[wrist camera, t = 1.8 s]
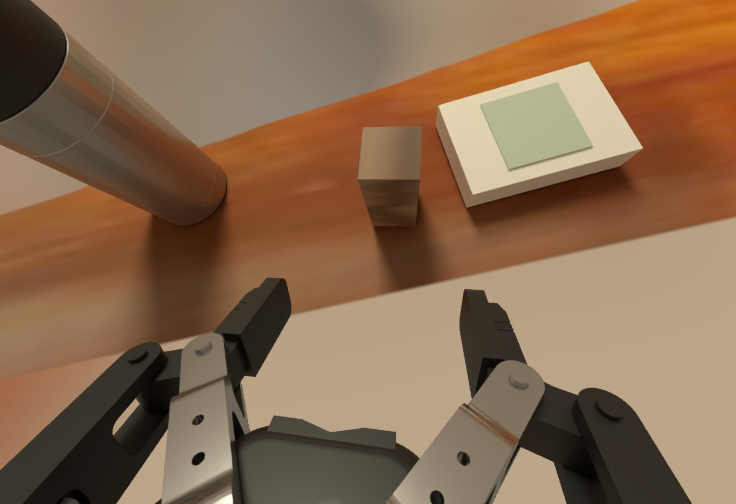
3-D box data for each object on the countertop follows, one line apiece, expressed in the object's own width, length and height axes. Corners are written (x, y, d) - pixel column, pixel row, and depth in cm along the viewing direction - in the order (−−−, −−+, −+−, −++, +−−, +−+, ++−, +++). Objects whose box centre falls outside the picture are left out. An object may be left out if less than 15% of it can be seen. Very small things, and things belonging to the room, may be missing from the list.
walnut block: (372, 226, 31) (357, 179, 21) (376, 188, 32) (362, 127, 22) (415, 227, 30) (419, 179, 21) (416, 188, 31) (421, 126, 22)
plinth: (466, 207, 30) (473, 193, 27) (435, 125, 33) (438, 104, 30) (619, 166, 29) (644, 146, 26) (572, 85, 32) (589, 59, 29)
